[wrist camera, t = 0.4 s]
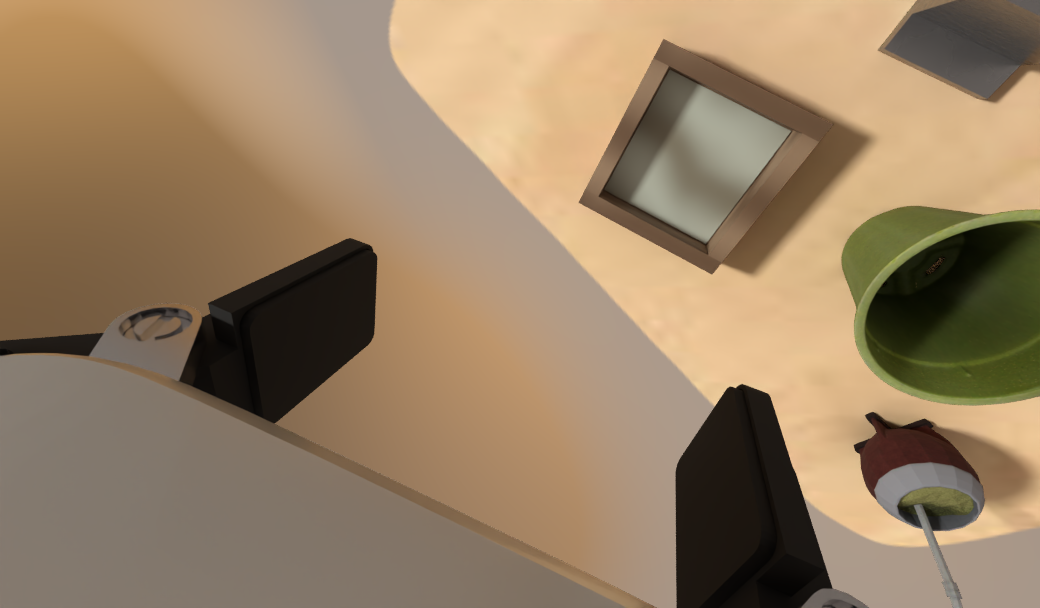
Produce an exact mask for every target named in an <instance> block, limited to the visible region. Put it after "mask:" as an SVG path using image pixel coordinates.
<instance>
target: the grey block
mask: <svg viewBox="0 0 1040 608" xmlns="http://www.w3.org/2000/svg"><path fill="white" fill-rule="evenodd" d="M878 51H880V52H882V53H884V54H886V55H888V56H890V57H892V58H894V59H896V60H898V61H901V62H903V63H905V64H907V65H909V66H911V67H913V68H915V69H917V70H919V71H921V72H923V73H925V74H927V75H929V76H932V77H934V78H936V79H938V80H940V81H942V82H944V83H946V84H948V85H950V86H952V87H954V88H956V89H958V90H960V91H962V92H965V93H967V94H969V95H971V96H973V97H975V98H977V99H988V98H989V97H990V96H991V95H992V94H993V93H994V92H995V91H996V90H997V89H998V88H999V87H1000V86H1001V85H1002V84H1003V83H1004V82H1005V81H1006V80H1007V79H1008V78H1009V77H1010V76H1011V74H1012V73H1013V72H1014V71H1015V70H1016V69H1017V68H1018V67H1019V66H1020V65H1031V64H1040V0H917V1H916V2H915V4H914V5H913V6H912V7H911V9H910V10H909V11H908V12H907V14H906V15H905V16H904V18H903V19H902V20H901V21H900V23H899V24H898V25H897V26H896V28H895V29H894V30H893V31H892V33H891V34H890V35H889V37H888V38H887V39H886V40H885V42H884V43H883V44H882V45H881V47H880V48H879V49H878Z"/></svg>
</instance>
